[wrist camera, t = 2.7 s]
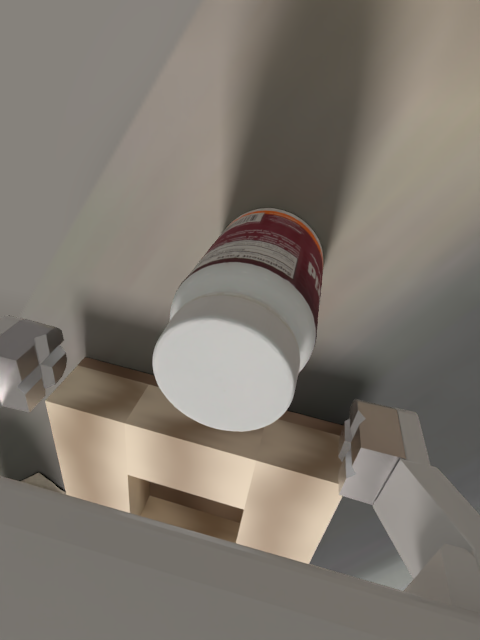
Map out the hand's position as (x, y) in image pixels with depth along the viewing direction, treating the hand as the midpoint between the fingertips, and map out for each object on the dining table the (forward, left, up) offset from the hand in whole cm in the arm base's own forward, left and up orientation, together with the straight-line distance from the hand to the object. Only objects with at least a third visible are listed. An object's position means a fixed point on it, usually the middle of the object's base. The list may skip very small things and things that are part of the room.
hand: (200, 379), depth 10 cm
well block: (+1, +17, -8) cm, 19 cm away
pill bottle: (-1, 0, -9) cm, 9 cm away
